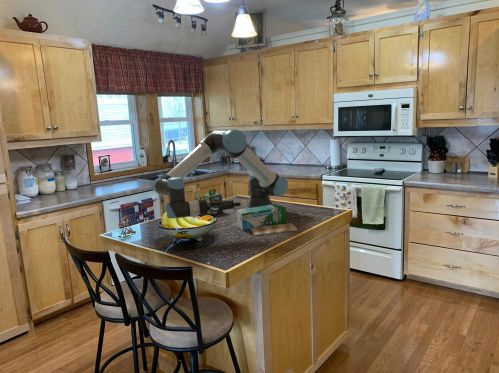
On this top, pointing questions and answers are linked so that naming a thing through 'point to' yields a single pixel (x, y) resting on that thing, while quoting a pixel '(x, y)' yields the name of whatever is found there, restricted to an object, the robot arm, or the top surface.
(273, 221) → the milk carton
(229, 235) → the top surface
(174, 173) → the robot arm
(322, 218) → the top surface
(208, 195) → the chalk box
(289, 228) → the cork mat
